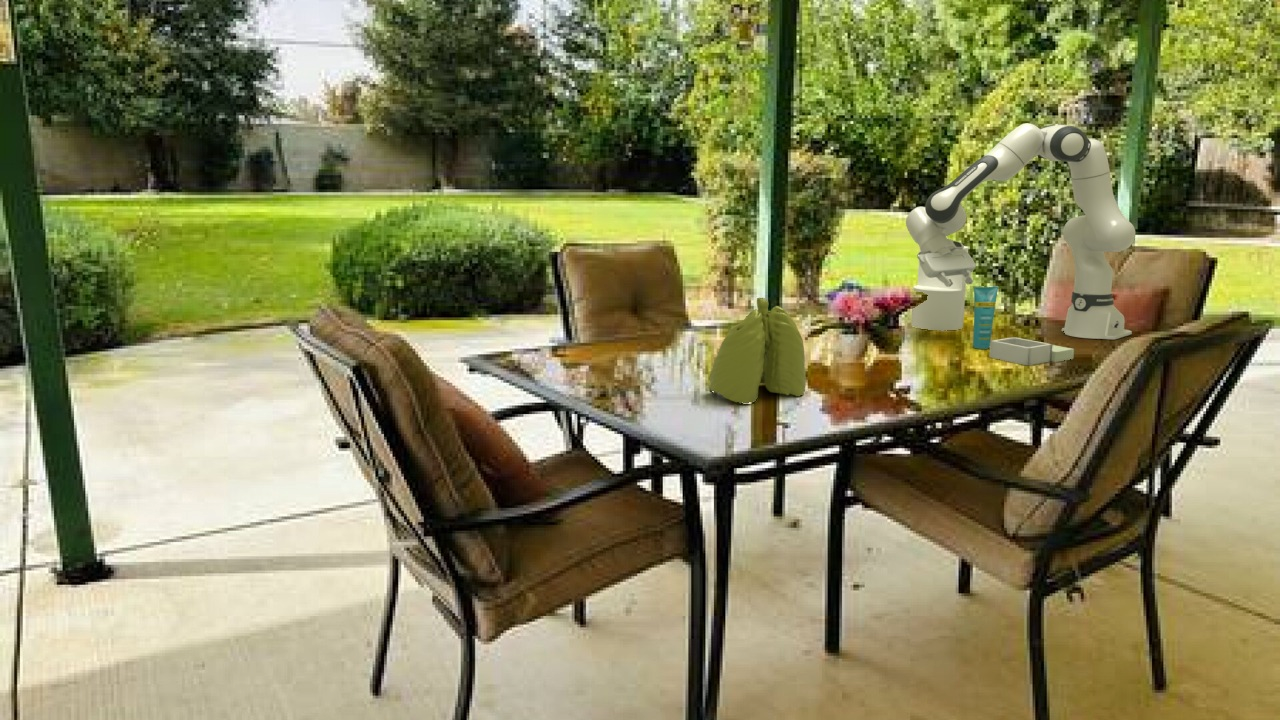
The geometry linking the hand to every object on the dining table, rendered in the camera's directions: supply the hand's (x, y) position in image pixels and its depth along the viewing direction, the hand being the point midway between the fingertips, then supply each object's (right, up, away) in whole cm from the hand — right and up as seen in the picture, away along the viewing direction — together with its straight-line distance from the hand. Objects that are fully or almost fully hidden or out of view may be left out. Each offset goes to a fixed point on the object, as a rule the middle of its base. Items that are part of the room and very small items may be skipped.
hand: (960, 284), depth 285 cm
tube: (+5, -20, -4) cm, 21 cm away
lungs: (-72, -33, -58) cm, 98 cm away
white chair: (+3, -12, +32) cm, 34 cm away
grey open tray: (+13, -23, -19) cm, 33 cm away
